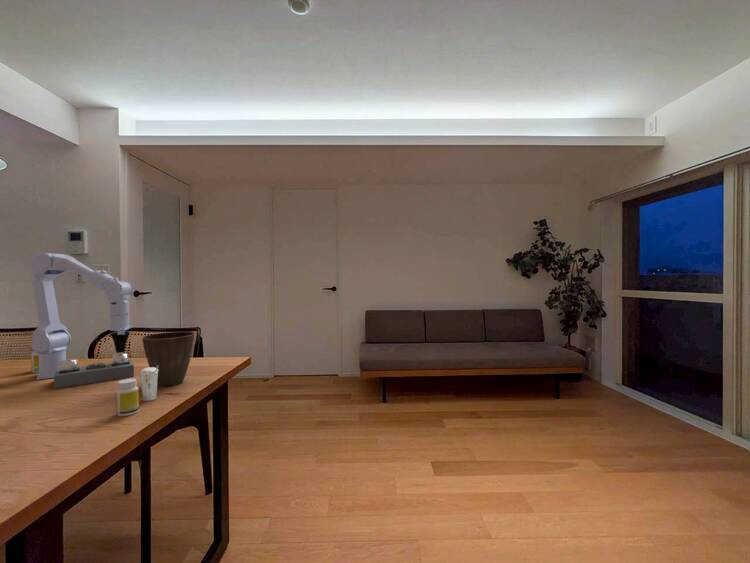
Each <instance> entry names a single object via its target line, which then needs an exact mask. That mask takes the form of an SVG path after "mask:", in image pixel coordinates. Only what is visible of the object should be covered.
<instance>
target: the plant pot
mask: <svg viewBox="0 0 750 563" xmlns="http://www.w3.org/2000/svg"><path fill="white" fill-rule="evenodd" d="M141 339H142V345H143V349H144V354H145V357H146V361H147V365H148V366H149V367H155V368H157V366H158V365H159V366H158V381H157V387H171V386H177V385H179V384H182V383H183V382H184V380H185V379H186V378H185V377H186V376H187V371H188V367H189V364H190V361H191V359H192V358H191V357H192V352H193V347H194V341H195V332H193V331H171V332H160V333H153V334H148V335H144V336H142V337H141Z"/></svg>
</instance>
